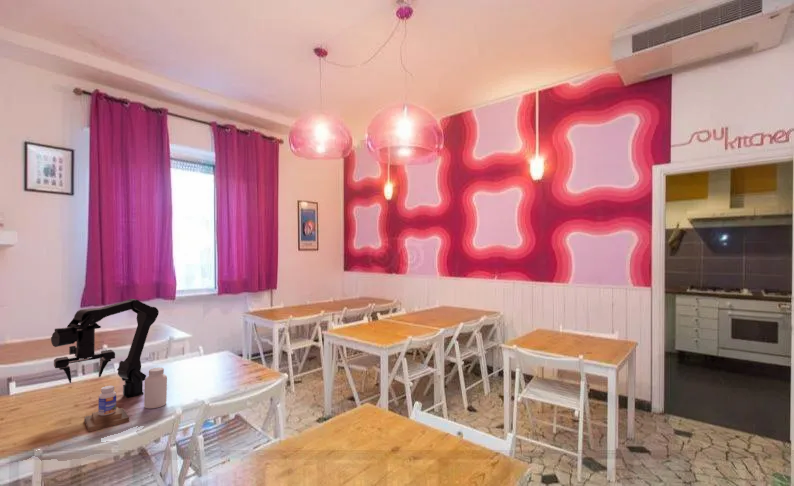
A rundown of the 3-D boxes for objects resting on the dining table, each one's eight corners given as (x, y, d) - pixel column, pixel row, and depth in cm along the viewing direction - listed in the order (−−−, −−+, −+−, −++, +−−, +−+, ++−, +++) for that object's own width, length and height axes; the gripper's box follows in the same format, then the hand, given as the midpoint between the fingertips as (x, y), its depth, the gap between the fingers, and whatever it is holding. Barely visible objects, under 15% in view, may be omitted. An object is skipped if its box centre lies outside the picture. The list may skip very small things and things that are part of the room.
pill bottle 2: (170, 403, 163) (171, 367, 163) (151, 410, 155) (152, 373, 155) (158, 400, 166) (159, 365, 166) (139, 407, 159) (140, 370, 159)
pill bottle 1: (106, 416, 143) (107, 390, 143) (94, 415, 144) (94, 389, 144) (119, 410, 148) (120, 385, 148) (108, 409, 149) (108, 384, 149)
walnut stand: (122, 411, 154) (122, 403, 154) (129, 421, 146) (129, 413, 146) (84, 420, 146) (84, 412, 146) (88, 431, 137) (88, 423, 137)
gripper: (109, 334, 167) (109, 370, 167) (52, 341, 154) (51, 380, 153) (115, 338, 159) (115, 376, 159) (55, 346, 146) (55, 388, 146)
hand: (85, 379), depth 155 cm, fingers open, 9 cm apart
